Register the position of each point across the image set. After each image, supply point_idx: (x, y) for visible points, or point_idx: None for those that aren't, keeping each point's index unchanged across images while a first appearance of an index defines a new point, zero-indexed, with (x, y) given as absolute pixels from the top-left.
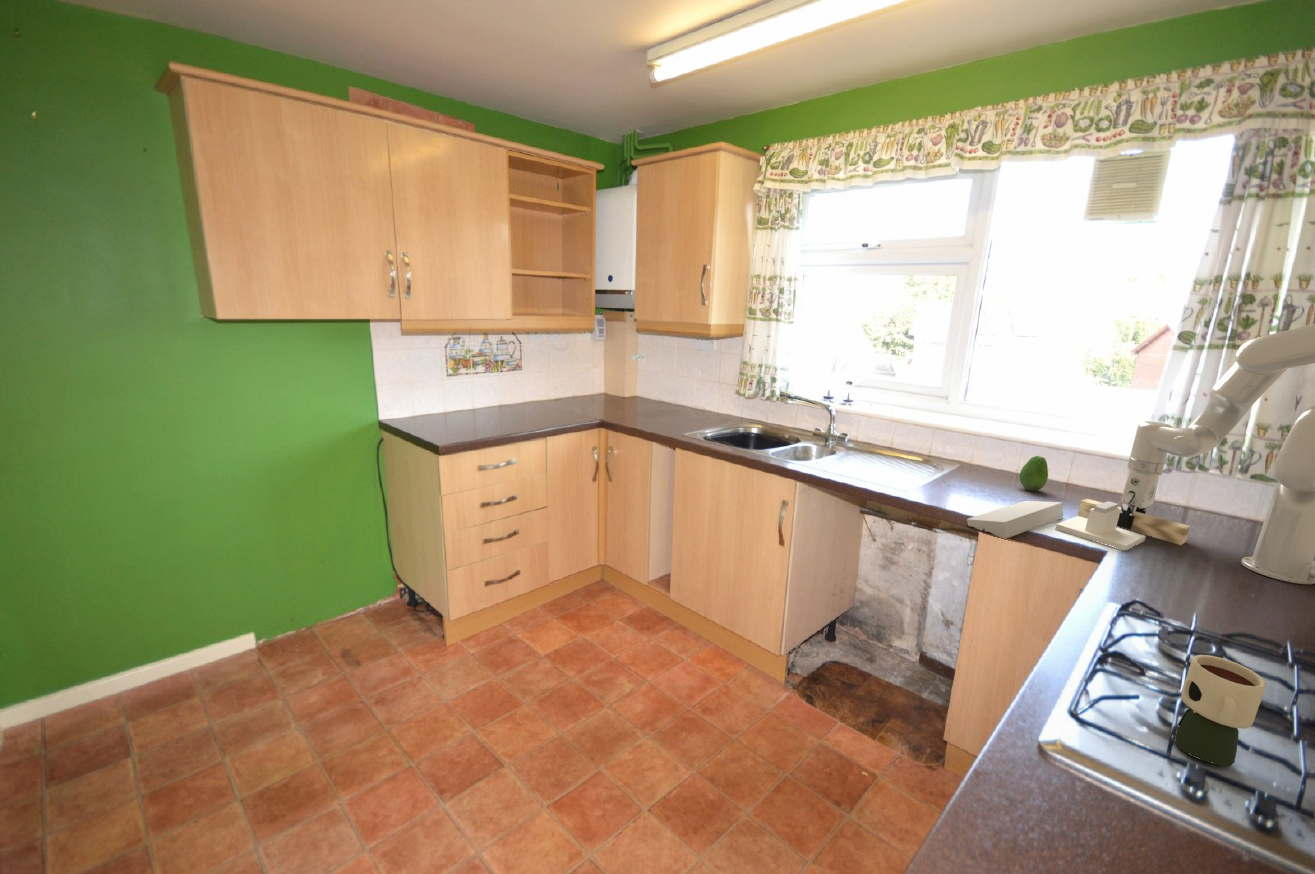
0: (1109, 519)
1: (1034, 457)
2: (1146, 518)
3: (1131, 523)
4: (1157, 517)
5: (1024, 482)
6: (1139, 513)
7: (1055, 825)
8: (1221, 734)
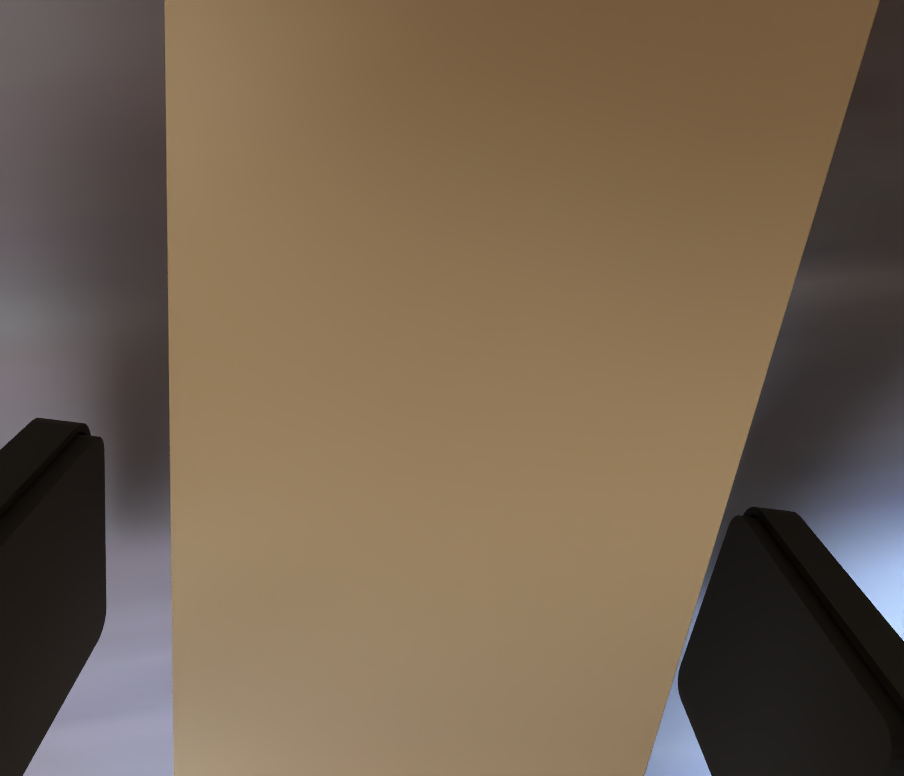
0: None
1: None
2: (730, 468)
3: (862, 595)
4: (205, 209)
5: None
6: (295, 696)
7: None
8: None
